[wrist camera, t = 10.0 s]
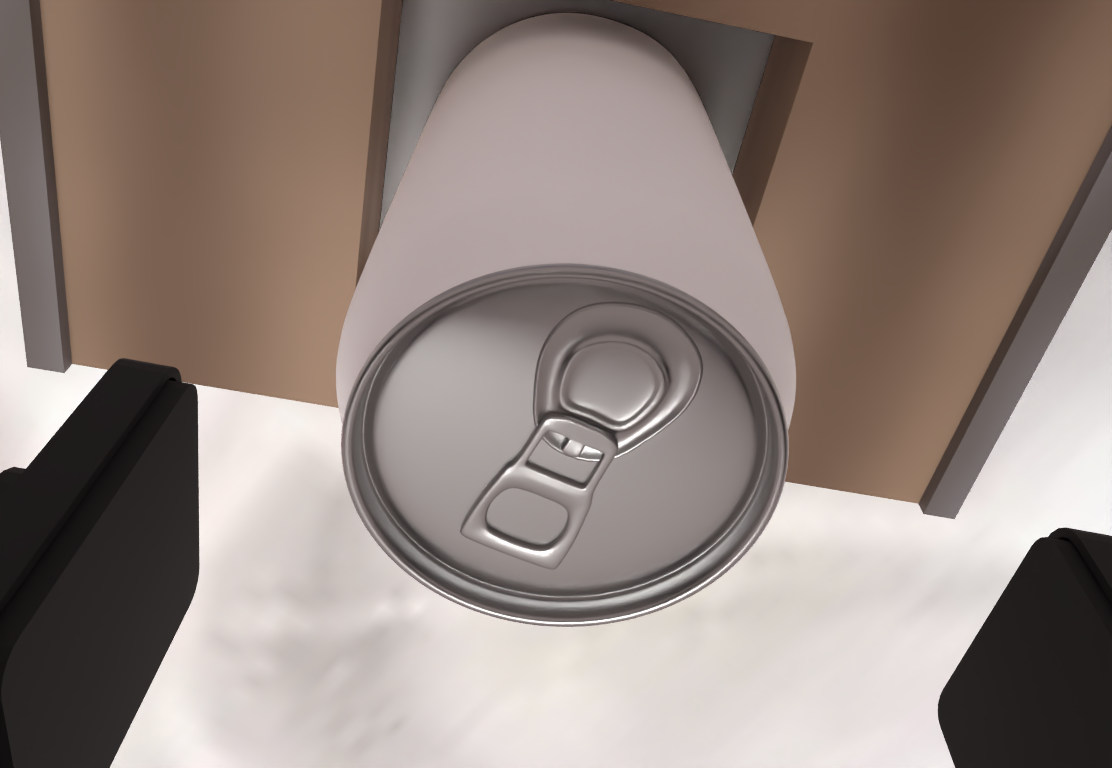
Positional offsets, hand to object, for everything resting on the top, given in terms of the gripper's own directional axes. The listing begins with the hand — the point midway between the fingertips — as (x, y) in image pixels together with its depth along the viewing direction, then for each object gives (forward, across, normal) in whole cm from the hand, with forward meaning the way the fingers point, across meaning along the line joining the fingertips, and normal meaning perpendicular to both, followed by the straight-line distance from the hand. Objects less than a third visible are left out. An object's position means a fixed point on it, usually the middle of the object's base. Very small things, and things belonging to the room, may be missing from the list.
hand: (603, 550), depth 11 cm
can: (+14, +1, 0) cm, 14 cm away
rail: (+14, +1, 0) cm, 14 cm away
